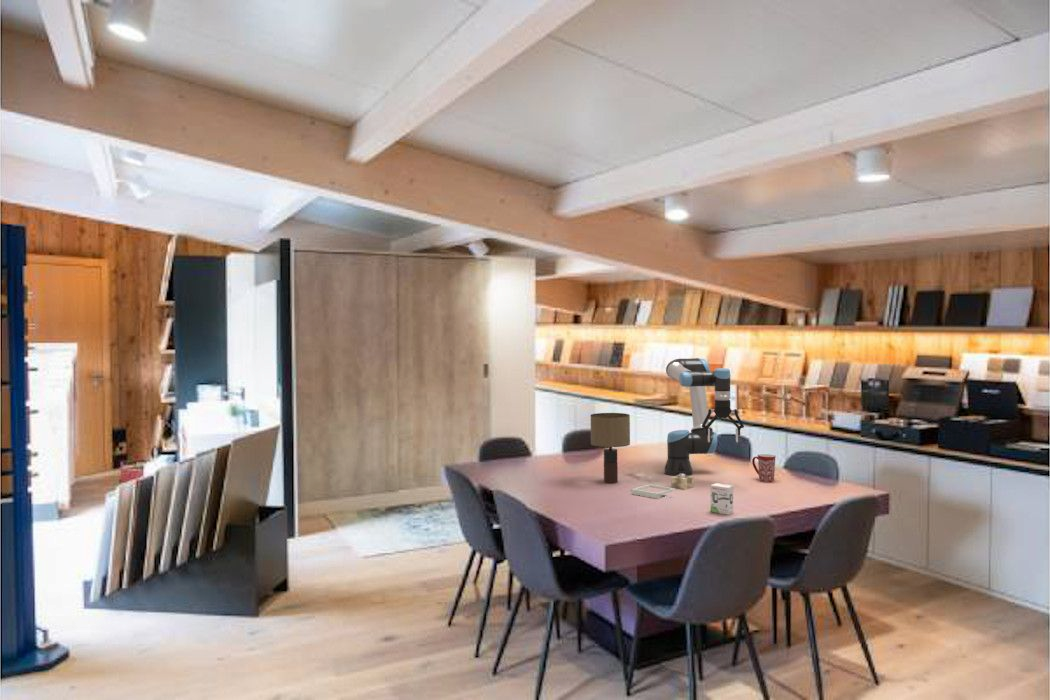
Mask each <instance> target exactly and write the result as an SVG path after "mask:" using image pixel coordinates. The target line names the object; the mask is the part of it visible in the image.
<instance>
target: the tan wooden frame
mask: <svg viewBox="0 0 1050 700" xmlns="http://www.w3.org/2000/svg"><path fill="white" fill-rule="evenodd" d="M670 488H675V489H680V490H688V489H691V488H695V477H694V476H691V475H687V476H686V475H685V478H679V475H677V476H674V475H672V476H670Z"/></svg>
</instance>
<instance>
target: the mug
mask: <svg viewBox="0 0 1050 700" xmlns="http://www.w3.org/2000/svg"><path fill="white" fill-rule="evenodd" d="M776 458H777V457H776V454H773V453H758V454H757V456H753V457H752V461H751V464H752V466H753V468H754V471H755V472H756V474H757V475H758V480H759V482H762V483H773V481H774V482H775V469H776ZM756 459H757V460H758V461H757V463H758V464H757V465H758V468H757V465H756V463H755V462H756V461H755V460H756Z"/></svg>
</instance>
